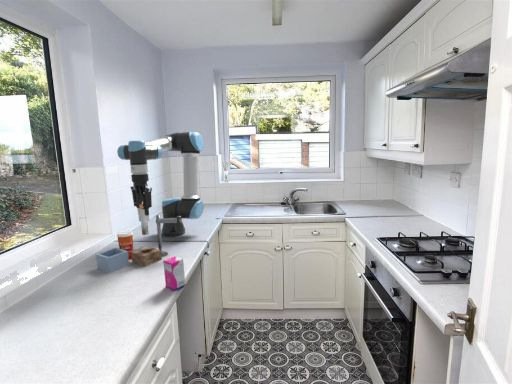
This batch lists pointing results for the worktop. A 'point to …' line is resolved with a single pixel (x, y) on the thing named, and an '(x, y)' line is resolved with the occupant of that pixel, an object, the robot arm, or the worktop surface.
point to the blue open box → (112, 260)
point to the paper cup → (126, 241)
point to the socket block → (146, 256)
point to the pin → (143, 224)
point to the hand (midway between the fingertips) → (144, 221)
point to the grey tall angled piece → (158, 221)
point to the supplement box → (174, 273)
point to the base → (164, 253)
